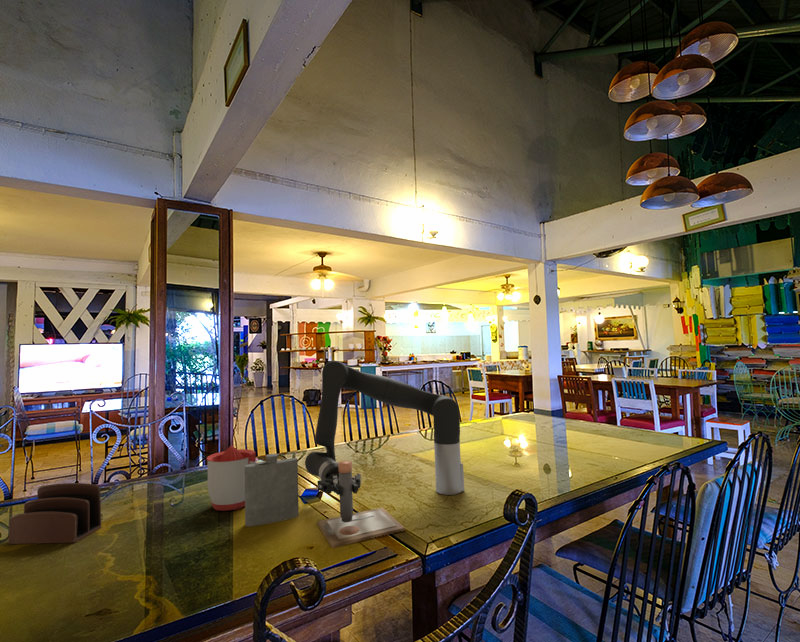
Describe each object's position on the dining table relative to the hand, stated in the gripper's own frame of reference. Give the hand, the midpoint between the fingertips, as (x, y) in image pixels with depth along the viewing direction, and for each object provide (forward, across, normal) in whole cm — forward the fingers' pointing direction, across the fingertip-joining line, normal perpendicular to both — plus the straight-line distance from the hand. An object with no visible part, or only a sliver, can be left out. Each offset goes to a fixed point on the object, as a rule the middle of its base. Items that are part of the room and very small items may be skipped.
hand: (348, 491), depth 117 cm
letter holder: (-43, -77, +12) cm, 89 cm away
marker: (-3, 0, +9) cm, 9 cm away
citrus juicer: (-42, -28, +12) cm, 52 cm away
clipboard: (-4, +4, +12) cm, 14 cm away
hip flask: (-22, -18, +12) cm, 31 cm away
